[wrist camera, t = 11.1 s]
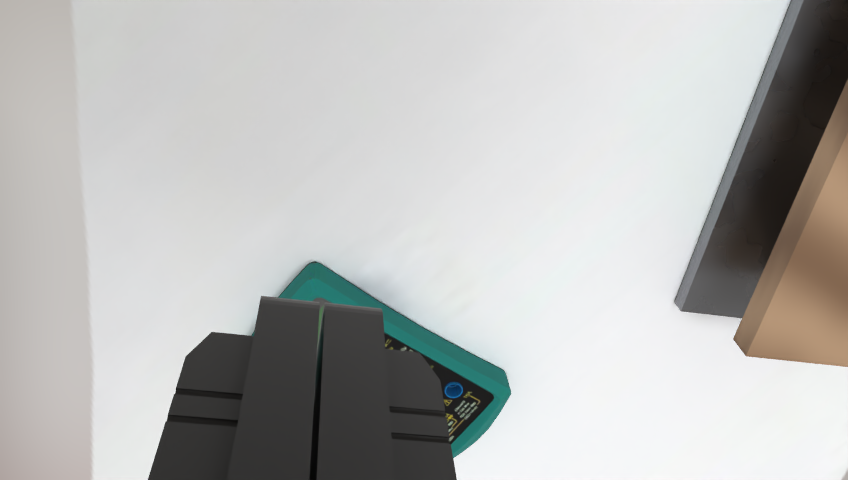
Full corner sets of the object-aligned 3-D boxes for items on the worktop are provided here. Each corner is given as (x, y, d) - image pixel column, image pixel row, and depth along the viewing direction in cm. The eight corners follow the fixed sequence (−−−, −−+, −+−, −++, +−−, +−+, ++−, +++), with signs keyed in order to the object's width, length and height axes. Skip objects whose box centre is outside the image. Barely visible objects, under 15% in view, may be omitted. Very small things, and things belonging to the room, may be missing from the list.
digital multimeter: (441, 447, 50) (446, 481, 47) (239, 343, 45) (233, 375, 42) (514, 371, 48) (523, 402, 45) (309, 251, 43) (307, 279, 40)
